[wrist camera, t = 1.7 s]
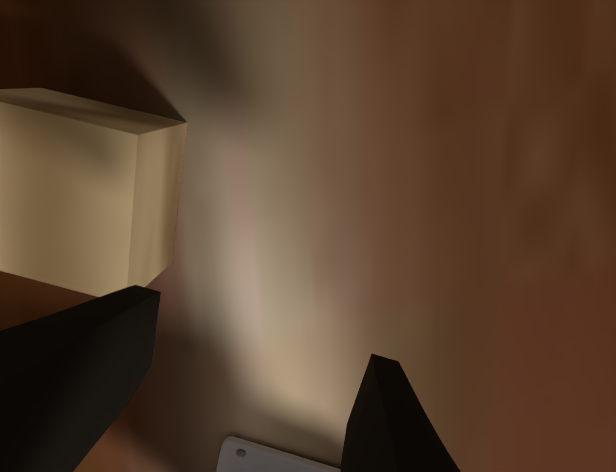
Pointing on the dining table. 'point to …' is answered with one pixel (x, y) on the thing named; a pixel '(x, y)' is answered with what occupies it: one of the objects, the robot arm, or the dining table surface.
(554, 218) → the dining table surface
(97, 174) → the maple block
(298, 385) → the dining table surface
